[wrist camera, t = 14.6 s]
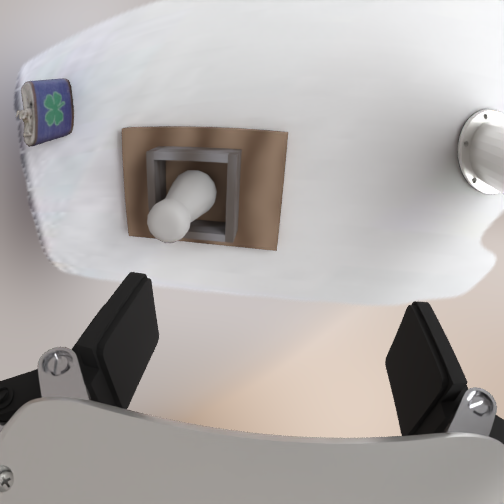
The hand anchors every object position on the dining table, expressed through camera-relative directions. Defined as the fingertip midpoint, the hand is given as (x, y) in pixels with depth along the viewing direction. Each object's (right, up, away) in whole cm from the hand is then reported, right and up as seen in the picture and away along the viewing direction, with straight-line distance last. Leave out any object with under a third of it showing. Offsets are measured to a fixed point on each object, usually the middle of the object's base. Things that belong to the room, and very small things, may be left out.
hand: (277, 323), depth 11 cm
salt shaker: (-8, +11, +30) cm, 33 cm away
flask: (-29, +25, +28) cm, 47 cm away
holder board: (-8, +12, +32) cm, 34 cm away
